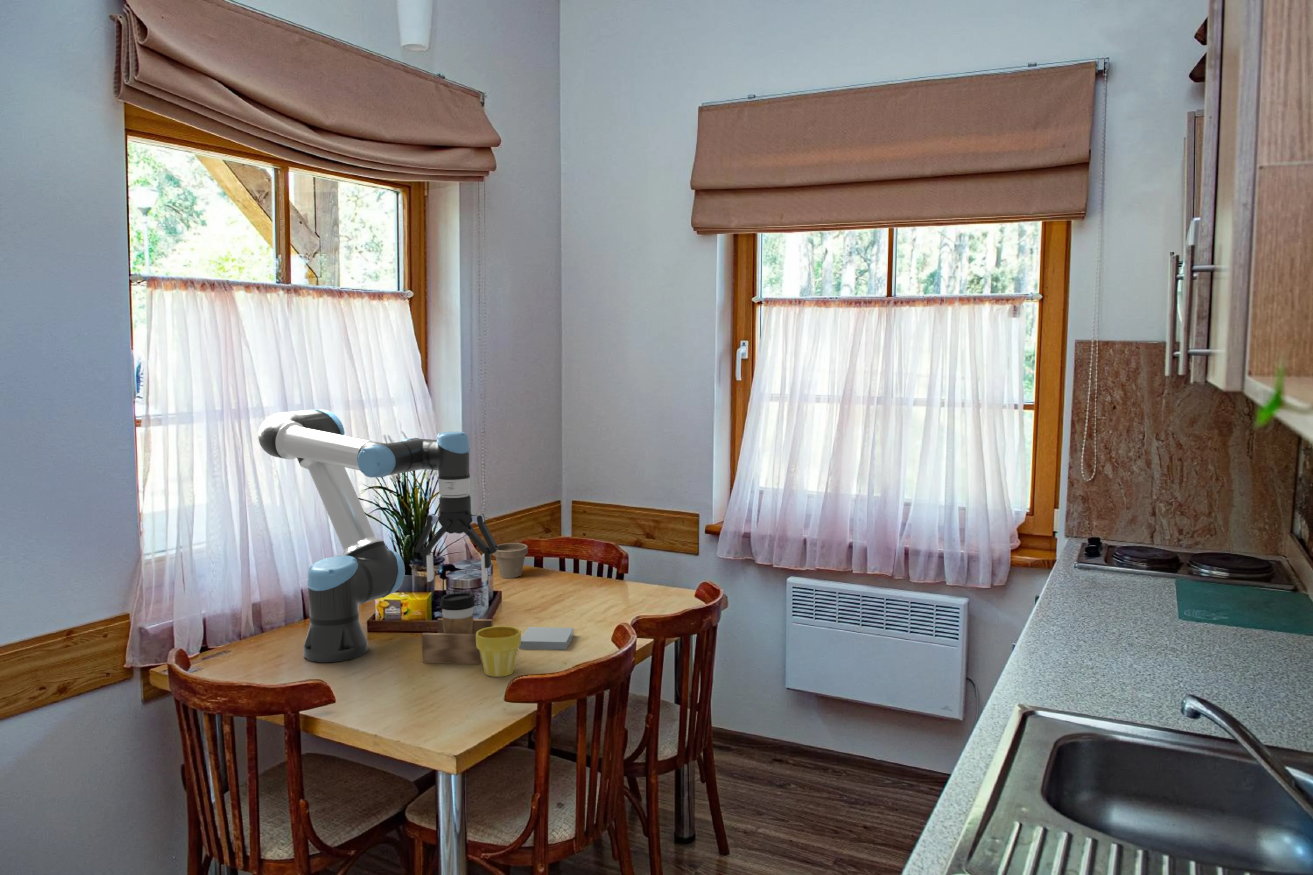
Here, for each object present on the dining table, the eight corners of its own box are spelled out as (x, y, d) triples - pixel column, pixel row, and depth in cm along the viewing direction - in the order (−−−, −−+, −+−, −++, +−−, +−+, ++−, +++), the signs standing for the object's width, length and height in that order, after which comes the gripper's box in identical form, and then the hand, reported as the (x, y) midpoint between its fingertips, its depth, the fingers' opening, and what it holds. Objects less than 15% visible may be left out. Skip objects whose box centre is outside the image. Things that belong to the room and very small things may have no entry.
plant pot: (501, 661, 231) (500, 622, 230) (530, 670, 225) (529, 630, 224) (467, 673, 223) (466, 632, 222) (497, 683, 217) (496, 641, 216)
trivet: (518, 648, 241) (518, 641, 241) (528, 634, 253) (528, 626, 252) (565, 649, 240) (565, 642, 240) (573, 635, 252) (573, 627, 252)
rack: (422, 662, 231) (421, 634, 230) (439, 644, 244) (438, 618, 243) (479, 663, 230) (478, 635, 229) (493, 646, 243) (492, 619, 242)
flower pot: (507, 582, 307) (507, 551, 306) (486, 576, 314) (485, 546, 313) (535, 576, 315) (534, 546, 314) (513, 570, 323) (513, 541, 322)
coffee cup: (468, 660, 232) (466, 600, 230) (435, 658, 234) (434, 598, 232) (481, 649, 240) (479, 591, 239) (449, 647, 242) (448, 589, 240)
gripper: (399, 497, 230) (402, 583, 232) (501, 497, 228) (503, 584, 230) (410, 492, 237) (413, 576, 240) (508, 492, 236) (510, 577, 238)
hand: (457, 580), depth 235 cm, fingers open, 13 cm apart
